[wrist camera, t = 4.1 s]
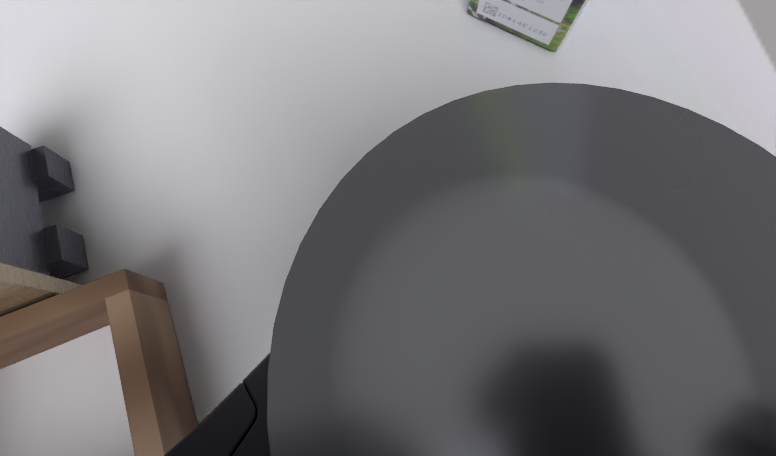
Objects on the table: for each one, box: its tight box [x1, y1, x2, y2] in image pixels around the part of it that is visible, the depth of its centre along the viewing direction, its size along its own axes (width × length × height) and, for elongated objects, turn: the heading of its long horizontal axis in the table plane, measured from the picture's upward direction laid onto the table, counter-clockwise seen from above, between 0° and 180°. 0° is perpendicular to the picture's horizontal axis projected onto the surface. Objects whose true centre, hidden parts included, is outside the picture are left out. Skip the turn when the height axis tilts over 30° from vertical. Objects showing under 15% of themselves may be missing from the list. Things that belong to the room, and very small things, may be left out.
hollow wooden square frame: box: [0, 269, 198, 456], centre depth 12 cm, size 9×9×2 cm
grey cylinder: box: [267, 83, 776, 456], centre depth 9 cm, size 5×5×13 cm
